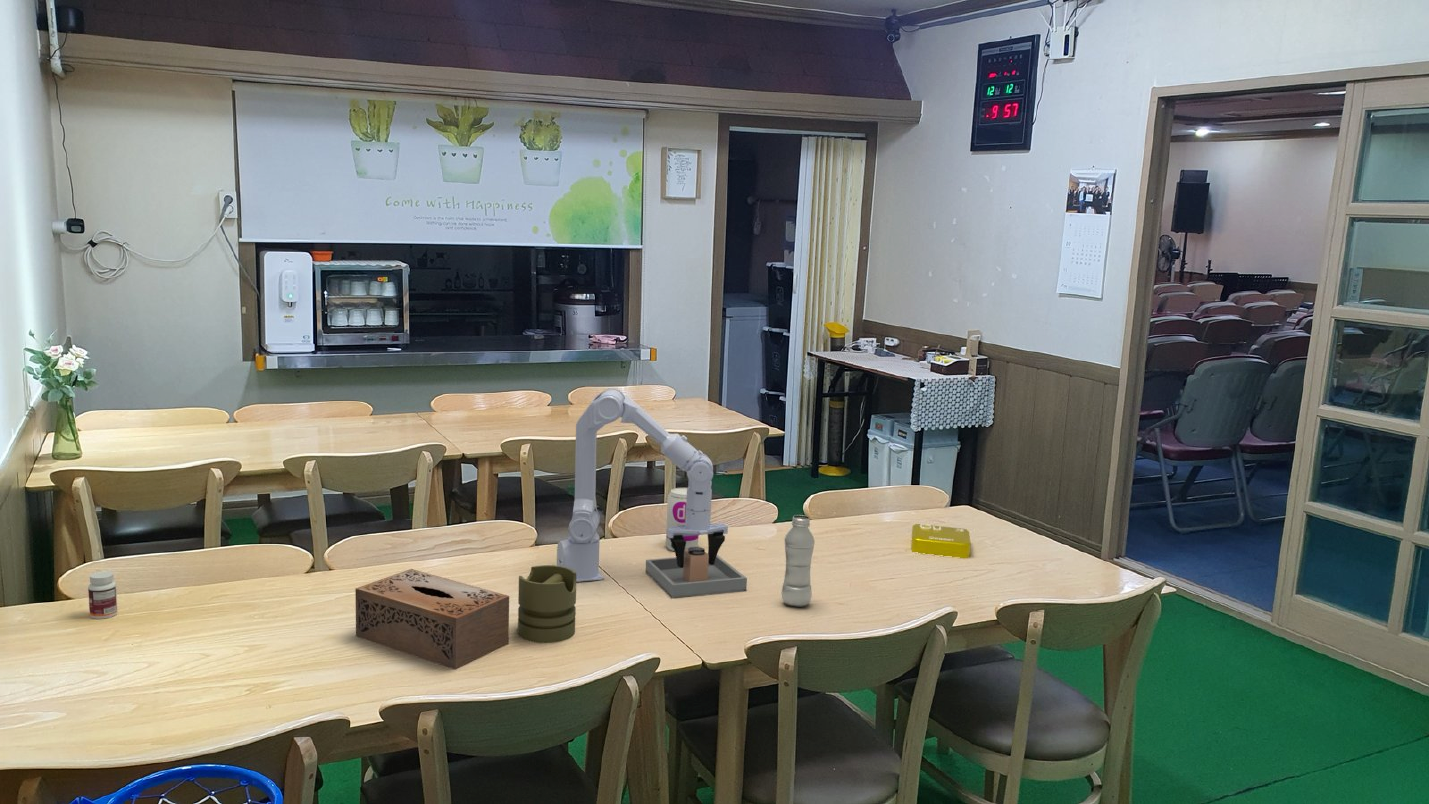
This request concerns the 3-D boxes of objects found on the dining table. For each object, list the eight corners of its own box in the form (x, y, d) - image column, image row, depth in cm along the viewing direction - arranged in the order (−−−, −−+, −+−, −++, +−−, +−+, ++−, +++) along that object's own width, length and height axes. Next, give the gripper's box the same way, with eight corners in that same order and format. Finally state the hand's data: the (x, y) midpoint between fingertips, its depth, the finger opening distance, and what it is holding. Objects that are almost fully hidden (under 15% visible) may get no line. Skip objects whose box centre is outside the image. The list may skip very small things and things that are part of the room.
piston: (508, 579, 204) (534, 562, 214) (507, 638, 206) (532, 618, 216) (562, 587, 201) (585, 569, 211) (561, 646, 203) (583, 626, 213)
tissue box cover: (508, 645, 203) (509, 596, 201) (455, 670, 190) (456, 618, 189) (411, 615, 215) (411, 568, 213) (355, 637, 203) (355, 588, 201)
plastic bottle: (809, 611, 228) (815, 522, 224) (778, 607, 229) (784, 519, 226) (812, 601, 234) (818, 514, 231) (782, 598, 235) (788, 511, 232)
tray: (672, 598, 232) (672, 585, 231) (645, 572, 248) (646, 559, 247) (746, 590, 239) (746, 578, 238) (715, 565, 255) (716, 553, 254)
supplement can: (697, 554, 263) (700, 496, 261) (664, 552, 263) (667, 494, 261) (698, 544, 271) (701, 488, 269) (666, 542, 271) (669, 486, 269)
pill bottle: (92, 611, 208) (90, 571, 207) (119, 609, 210) (117, 569, 208) (87, 620, 204) (85, 579, 202) (115, 618, 205) (113, 577, 204)
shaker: (689, 583, 240) (691, 553, 239) (682, 576, 244) (684, 547, 243) (707, 581, 242) (708, 551, 241) (700, 575, 246) (701, 545, 245)
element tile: (910, 554, 273) (912, 536, 272) (911, 538, 288) (912, 521, 287) (969, 560, 270) (971, 543, 270) (967, 544, 285) (968, 527, 284)
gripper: (675, 515, 234) (672, 573, 236) (734, 511, 240) (731, 567, 242) (664, 506, 240) (661, 563, 243) (722, 502, 246) (719, 558, 248)
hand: (695, 565), depth 243 cm, fingers open, 7 cm apart
